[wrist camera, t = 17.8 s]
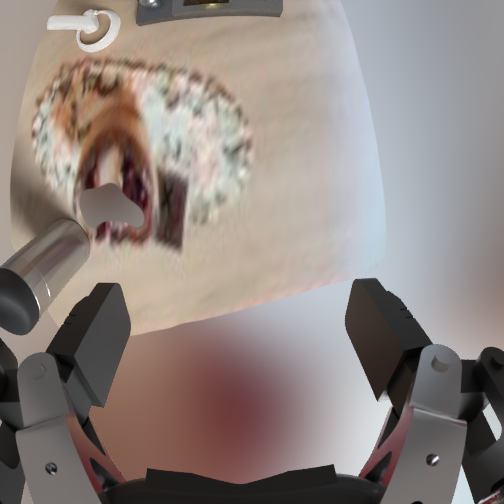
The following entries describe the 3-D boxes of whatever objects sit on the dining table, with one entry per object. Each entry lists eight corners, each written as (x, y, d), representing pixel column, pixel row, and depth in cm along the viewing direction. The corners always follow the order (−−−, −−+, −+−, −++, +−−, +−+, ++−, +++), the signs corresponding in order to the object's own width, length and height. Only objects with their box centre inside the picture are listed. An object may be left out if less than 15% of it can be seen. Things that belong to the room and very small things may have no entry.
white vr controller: (35, 30, 22) (50, -1, 17) (99, 28, 30) (120, 1, 26) (35, 64, 23) (49, 32, 19) (104, 58, 32) (126, 32, 28)
